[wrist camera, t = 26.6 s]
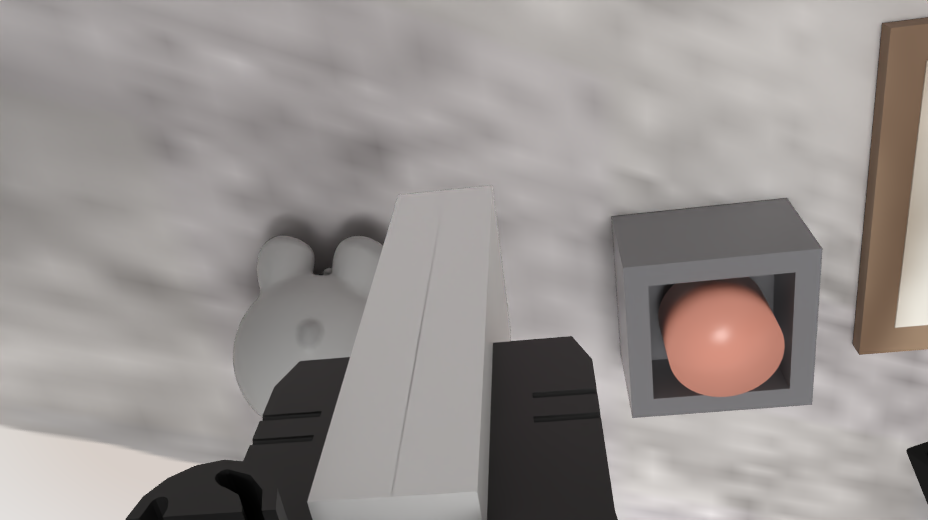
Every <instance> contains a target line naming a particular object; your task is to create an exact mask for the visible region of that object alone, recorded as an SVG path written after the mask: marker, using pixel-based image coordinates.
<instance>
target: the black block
mask: <svg viewBox="0 0 928 520" xmlns="http://www.w3.org/2000/svg"><path fill="white" fill-rule="evenodd" d="M907 454H908V456H909V459H910V461H911V464H912V466H913V469H914V471H915V474H916V476H917V479H918V481H919V484H920V486H921V489H922V491H923V494H924V496H925V499H926V501H927V504H928V442H926V443H923V444H920V445H917V446H914V447H911V448H908V449H907Z"/></svg>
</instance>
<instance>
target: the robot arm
mask: <svg viewBox="0 0 928 520" xmlns="http://www.w3.org/2000/svg"><path fill="white" fill-rule="evenodd" d="M262 416H263V421H260V422H259V425H258V427H257V430H256V432H255V434H254V437H253V445H250V446H249V449H248V451H247V454H246V456H245V458H244V461H232V460H221V461H216V462H211V463H206V464H201V465H196V466H194V467H191V468H189V469H187V470H185V471H183V472H180V473H178V474H176V475H174V476H172V477H169V478H167V479H166V480H165V481H163V482H162V483H161V484H159V485H158V486H157V487H155V488H154V489H153V490H151V491H150V492H149V493H147V494H146V495H145V496H143V497H142V499H141V500H140V501H139V503H138V504H137V505H136V506H135V508H134V509H133V510H132V511H131V513H130V514H129V515H128V517H127V518H126V520H618V519H617V516H616V513H615V509H614V502H613V495H612V489H611V482H610V475H609V469H608V462H607V455H606V449H605V442H604V435H603V429H602V422H601V417H600V409H599V402H598V395H597V389H596V382H595V375H594V369H593V362H592V359H591V358H590V356H589V355H588V354H587V353H586V352H585V351H584V350H583V348H582V347H581V346H580V345H579V344H578V343H577V342H576V341H575V339H574V338H573V337H572V336H570V337H557V338H545V339H533V340H520V341H511V330H510V322H509V314H508V306H507V298H506V290H505V282H504V274H503V266H502V258H501V250H500V242H499V234H498V226H497V218H496V210H495V202H494V194H493V186H492V185H489V186H479V187H469V188H460V189H450V190H440V191H430V192H420V193H410V194H401V195H398V198H397V201H396V204H395V208H394V211H393V214H392V218H391V221H390V225H389V228H388V231H387V235H386V238H385V241H384V245H383V248H382V252H381V255H380V258H379V262H378V265H377V268H376V272H375V275H374V278H373V282H372V285H371V289H370V292H369V295H368V299H367V302H366V305H365V309H364V312H363V316H362V319H361V322H360V326H359V329H358V332H357V336H356V339H355V342H354V346H353V349H352V353H351V356H350V357H343V358H331V359H318V360H306V361H299V362H298V363H297V364H296V365H295V366H294V367H293V368H292V369H291V370H290V371H289V372H288V373H287V374H286V375H285V376H284V377H283V378H282V379H281V380H280V381H279V382H278V383H277V384H276V385H275V386H274V389H273V391H272V393H271V396H270V398H269V401H268V403H267V405H266V408H265V410H264V413H263V415H262Z"/></svg>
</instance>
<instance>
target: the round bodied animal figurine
mask: <svg viewBox="0 0 928 520" xmlns="http://www.w3.org/2000/svg"><path fill="white" fill-rule="evenodd" d="M382 248H383V245H381V244H380V243H379V242H377V241H375V240H373V239H371V238H368V237H364V236H353V237H349V238H346V239H344V240H343V241H342V242H341V243H340V244H339V245H338V246H337V248H336V250H335V253H334V257H333V262H332V268H327V269H325V270H324V272H323V275H314V274H313V268H314V263H315V260H314V253H313V251H312V249H311V247H310V246H309V245H308V244H306V243H305V242H303V241H301V240H299V239H297V238H294V237H291V236H276V237H273V238H271V239H270V240H268V241H267V242H266V243H265V244H264V245H263V247H262V248H261V250H260V253H259V256H258V261H257V277H258V283H259V288H260V295H259V297H258V299H257V300H256V301H255V302H254V303H253V305H252V306H251V307H250V308H249V309H248V311H247V312H246V314H245V315H244V317H243V319H242V321H241V323H240V325H239V328H238V330H237V333H236V337H235V342H234V348H233V365H234V372H235V376H236V380H237V383H238V385H239V388H240V390H241V392H242V394H243V396H244V397H245V399H246V400H247V402H248V403H249V405H250V406H251V407H252V408H253V409H254V410H255V411H256V412H257V413H258V414H259V415H260V416H261V417H262V418H263V416H262V415H263V413H264V410H265V408H266V405H267V403H268V401H269V398H270V396H271V393H272V391H273V389H274V386H275V385H276V384H277V383H278V382H279V381H280V380H281V379H282V378H283V377H284V376H285V375H286V374H287V373H288V372H289V371H290V370H291V369H292V368H293V367H294V366H295V365H296V364H297V363H298V362H299V361H306V360H318V359H331V358H343V357H350V356H351V353H352V349H353V346H354V342H355V339H356V336H357V332H358V329H359V326H360V322H361V319H362V316H363V312H364V309H365V305H366V302H367V299H368V295H369V292H370V289H371V285H372V282H373V278H374V275H375V272H376V268H377V265H378V262H379V258H380V255H381V252H382Z"/></svg>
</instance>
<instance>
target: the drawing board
mask: <svg viewBox="0 0 928 520" xmlns="http://www.w3.org/2000/svg"><path fill="white" fill-rule="evenodd" d="M853 346H854V347H855V349H856V350H857V352H858V353H859V355H861V354H874V353H886V352H899V351H911V350H924V349H928V17H927V18H920V19H912V20H904V21H896V22H888V23H882V31H881V42H880V53H879V64H878V75H877V86H876V96H875V107H874V118H873V129H872V140H871V151H870V162H869V173H868V184H867V195H866V205H865V216H864V227H863V238H862V249H861V260H860V271H859V282H858V293H857V304H856V314H855V325H854V336H853Z"/></svg>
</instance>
